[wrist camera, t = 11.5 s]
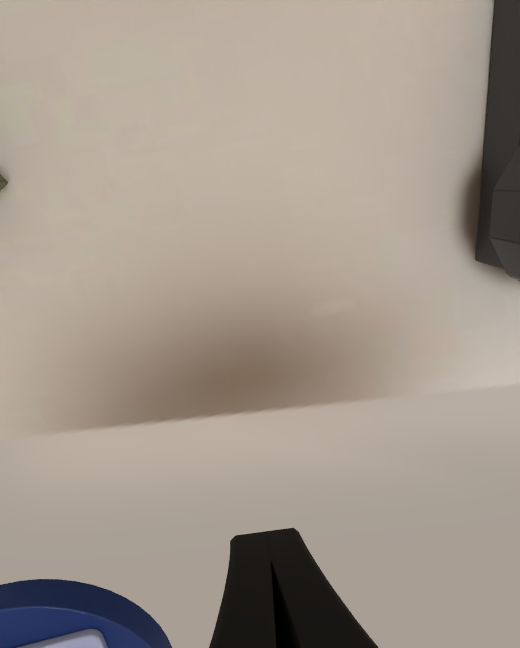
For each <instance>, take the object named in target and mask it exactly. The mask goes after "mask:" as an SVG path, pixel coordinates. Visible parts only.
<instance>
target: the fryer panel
mask: <svg viewBox="0 0 520 648" xmlns="http://www.w3.org/2000/svg"><path fill="white" fill-rule="evenodd" d="M6 184H7V182H6V181H5V180H4V178H3V177H2V176H1V175H0V189H2V188H3V187H4V186H5V185H6Z"/></svg>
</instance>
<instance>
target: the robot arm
mask: <svg viewBox="0 0 520 648" xmlns="http://www.w3.org/2000/svg"><path fill="white" fill-rule="evenodd" d="M16 648H108V646H107V644H106V642H105V639H104V637H103V634H102V633H101V632H100V631H99V630H97V629H86V630H82V631H78V632H74V633H70V634H67V635H63V636H59V637H55V638H51V639H47V640H43V641H40V642H36V643H32V644H28V645H24V646H20V647H16ZM209 648H378V646H377V645H376V644H375V643H374V642H373V640H372V639H371V638H370V637H369V635H368V634H367V633H366V632H365V631H364V629H363V628H362V627H361V625H360V624H359V623H358V622H357V620H356V619H355V618H354V616H353V615H352V614H351V612H350V611H349V610H348V608H347V607H346V606H345V604H344V603H343V601H342V600H341V599H340V597H339V596H338V595H337V593H336V592H335V591H334V589H333V588H332V586H331V585H330V583H329V582H328V580H327V579H326V577H325V576H324V574H323V573H322V571H321V570H320V568H319V567H318V565H317V563H316V562H315V560H314V559H313V557H312V555H311V554H310V552H309V550H308V549H307V547H306V545H305V543H304V541H303V540H302V538H301V536H300V534H299V532H298V531H297V530H296V529H294V528H289V529H281V530H274V531H266V532H259V533H252V534H245V535H237V536H235V537H234V538H233V539H232V540H231V541H230V560H229V568H228V574H227V579H226V584H225V590H224V594H223V599H222V602H221V607H220V611H219V615H218V618H217V622H216V627H215V630H214V634H213V637H212V640H211V643H210V647H209Z"/></svg>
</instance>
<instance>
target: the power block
mask: <svg viewBox="0 0 520 648" xmlns="http://www.w3.org/2000/svg"><path fill="white" fill-rule="evenodd" d="M476 261H480V262H483V263H486V264H490V265H493V266H496V267H499V268H503V269H505V271H506V273H507V274H509V275H510V276H511V277H513V278H515V279H517V280H518V281H520V0H495V12H494V25H493V38H492V51H491V64H490V78H489V91H488V104H487V117H486V130H485V143H484V156H483V169H482V182H481V195H480V208H479V221H478V234H477V247H476Z"/></svg>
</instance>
